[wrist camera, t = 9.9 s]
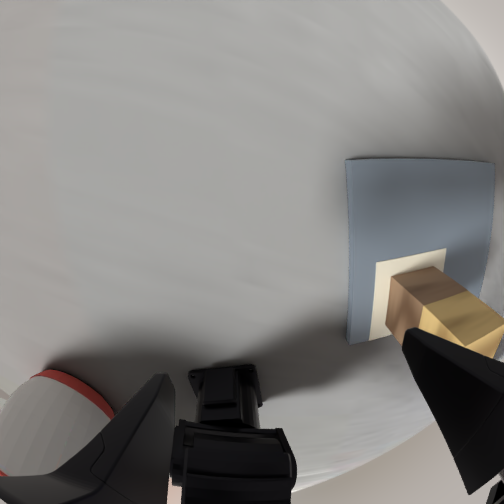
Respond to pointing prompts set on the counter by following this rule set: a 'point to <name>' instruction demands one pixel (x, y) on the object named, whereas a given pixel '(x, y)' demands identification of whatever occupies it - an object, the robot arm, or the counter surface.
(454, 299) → the ochre block
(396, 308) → the walnut block
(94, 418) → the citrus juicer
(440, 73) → the counter surface
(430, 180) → the board
